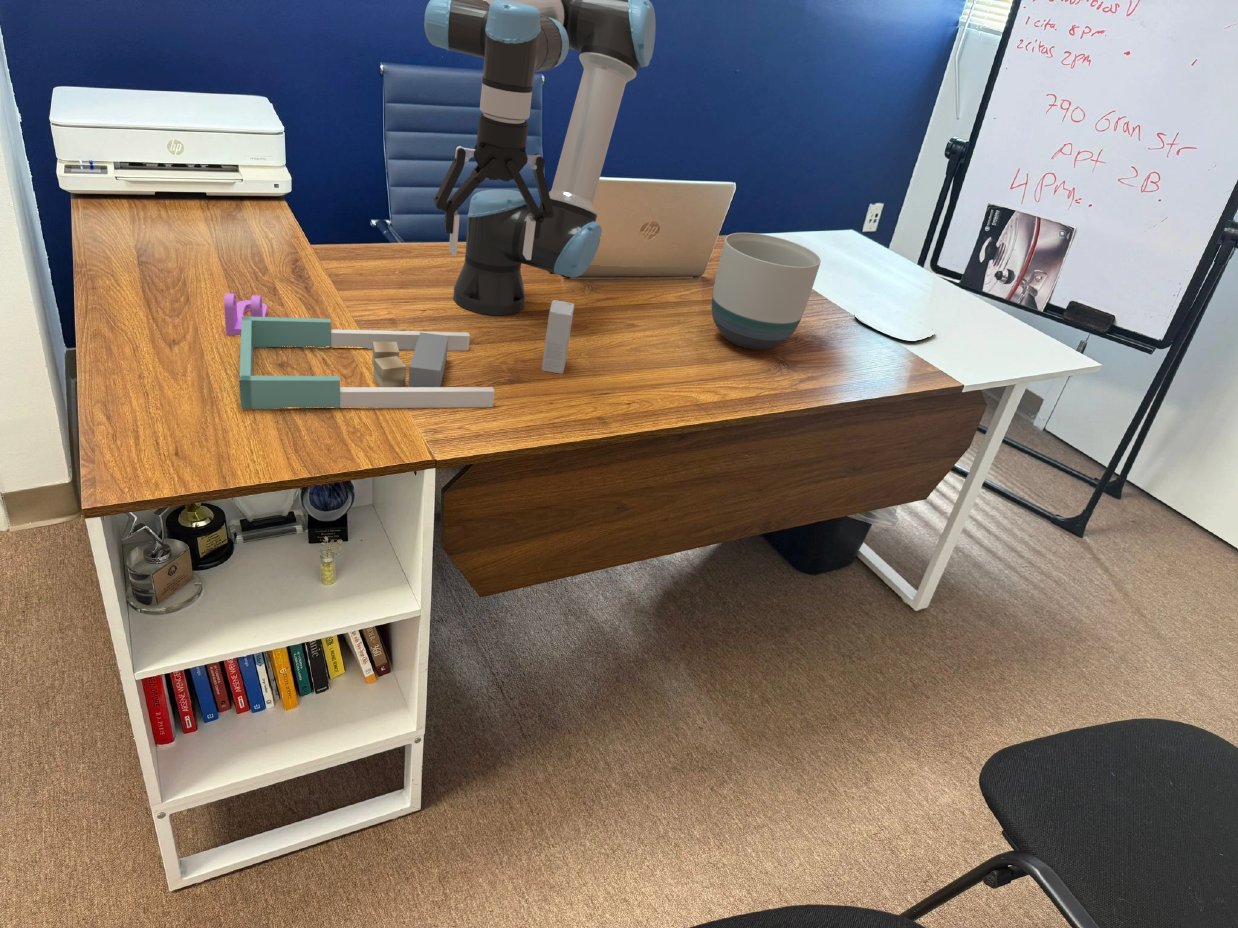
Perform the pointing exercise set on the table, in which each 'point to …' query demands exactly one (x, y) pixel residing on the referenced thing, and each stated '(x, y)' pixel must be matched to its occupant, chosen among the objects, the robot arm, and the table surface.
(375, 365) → the chip
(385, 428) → the table surface
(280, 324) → the bay
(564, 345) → the skincare box
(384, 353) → the chip
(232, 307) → the bracket
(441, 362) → the block
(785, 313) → the planter
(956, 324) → the table surface
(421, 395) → the channel
